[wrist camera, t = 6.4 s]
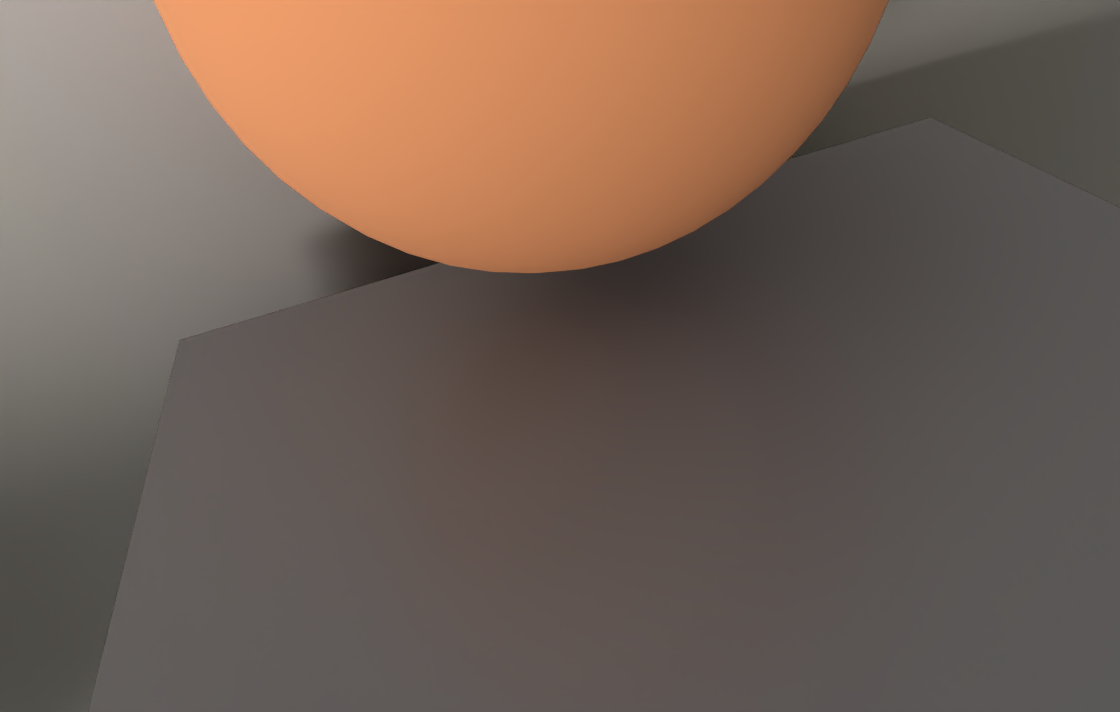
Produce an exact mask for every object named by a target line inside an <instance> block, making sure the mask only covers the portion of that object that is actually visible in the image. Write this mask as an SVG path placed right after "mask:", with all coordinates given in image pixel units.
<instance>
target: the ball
mask: <svg viewBox="0 0 1120 712" xmlns="http://www.w3.org/2000/svg"><path fill="white" fill-rule="evenodd" d="M888 1H889V0H154V2H155V5H156V7H157V9H158V11H159V13H160V15H161V17H162V19H163V21H164V23H165V25H166V27H167V29H168V32H169V34H170V36H171V38H172V40H173V42H174V44H175V46H176V48H177V50H178V52H179V54H180V56H181V58H182V59H183V61H184V63H185V64H186V66H187V67H188V69H189V70H190V72H191V74H192V75H193V77H194V78H195V80H196V81H197V83H198V85H199V86H200V88H201V89H202V91H203V92H204V94H205V96H206V97H207V99H208V100H209V102H210V103H211V105H212V106H213V107H214V108H215V109H216V111H217V112H218V113H219V114H220V116H221V117H222V118H223V119H224V120H225V122H226V123H227V124H228V125H229V127H230V128H231V129H232V130H233V131H234V133H235V134H236V135H237V136H238V138H239V139H240V140H241V141H242V142H243V144H244V145H245V146H246V147H247V148H248V149H249V150H250V151H252V152H253V153H254V154H255V155H256V156H257V157H258V158H259V159H260V160H261V161H262V162H263V163H264V164H265V165H266V166H267V167H268V168H269V169H270V170H271V171H272V172H273V173H274V174H275V175H277V176H278V177H279V178H280V179H281V180H282V181H283V182H285V183H286V184H287V185H289V186H290V187H291V188H293V189H294V190H295V191H297V192H298V193H299V194H301V195H302V196H303V197H305V198H306V199H307V200H309V201H310V202H311V203H313V204H314V205H315V206H317V207H318V208H319V209H321V210H323V211H325V212H326V213H328V214H330V215H332V216H333V217H335V218H337V219H338V220H340V221H342V222H344V223H345V224H347V225H349V226H351V227H352V228H354V229H356V230H357V231H359V232H361V233H363V234H365V235H366V236H368V237H370V238H373V239H375V240H378V241H380V242H382V243H385V244H387V245H389V246H392V247H394V248H396V249H399V250H401V251H403V252H406V253H408V254H411V255H415V256H418V257H422V258H425V259H429V260H432V261H436V262H439V263H443V264H446V265H450V266H456V267H463V268H469V269H476V270H482V271H488V272H510V273H544V272H555V271H567V270H578V269H585V268H589V267H594V266H599V265H604V264H608V263H613V262H618V261H622V260H625V259H628V258H631V257H634V256H636V255H639V254H642V253H645V252H648V251H651V250H654V249H657V248H660V247H662V246H664V245H666V244H668V243H670V242H672V241H674V240H677V239H679V238H681V237H683V236H685V235H687V234H689V233H691V232H694V231H695V230H697V229H699V228H700V227H702V226H703V225H705V224H707V223H708V222H710V221H712V220H713V219H715V218H717V217H718V216H720V215H721V214H723V213H725V212H726V211H728V210H729V209H731V208H732V207H733V206H735V205H736V204H737V203H738V202H740V201H741V200H742V199H744V198H745V197H746V196H748V195H749V194H750V193H751V192H753V191H754V190H755V189H757V188H758V187H759V186H760V185H762V184H763V183H764V182H765V181H766V180H767V179H768V178H769V177H770V176H771V175H772V174H773V173H774V172H775V171H776V170H777V169H778V168H779V167H781V166H782V165H783V164H784V163H785V162H786V161H787V160H788V159H789V158H790V157H791V156H792V155H793V154H794V153H795V152H796V151H797V150H798V148H799V147H800V146H801V145H802V144H803V143H804V141H805V140H806V139H807V138H808V137H809V136H810V134H811V133H812V132H813V131H814V130H815V128H816V127H817V126H818V125H819V124H820V123H821V121H822V120H823V119H824V118H825V116H826V115H827V113H828V112H829V110H830V109H831V107H832V106H833V104H834V103H835V102H836V100H837V99H838V97H839V96H840V94H841V93H842V91H843V90H844V89H845V87H846V86H847V84H848V83H849V81H850V79H851V77H852V75H853V74H854V72H855V70H856V68H857V66H858V65H859V63H860V61H861V59H862V57H863V55H864V54H865V52H866V50H867V48H868V46H869V45H870V43H871V40H872V38H873V36H874V33H875V31H876V29H877V26H878V24H879V22H880V19H881V17H882V15H883V12H884V10H885V8H886V5H887V3H888Z"/></svg>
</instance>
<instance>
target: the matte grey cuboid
mask: <svg viewBox="0 0 1120 712" xmlns="http://www.w3.org/2000/svg"><path fill="white" fill-rule="evenodd" d="M88 712H1120V207H1118V206H1116V205H1114V204H1112V203H1110V202H1107V201H1105V200H1103V199H1101V198H1099V197H1097V196H1095V195H1093V194H1091V193H1088V192H1086V191H1084V190H1082V189H1080V188H1078V187H1076V186H1074V185H1072V184H1070V183H1067V182H1065V181H1063V180H1061V179H1059V178H1057V177H1055V176H1053V175H1051V174H1049V173H1046V172H1044V171H1042V170H1040V169H1038V168H1036V167H1034V166H1032V165H1030V164H1028V163H1025V162H1023V161H1021V160H1019V159H1017V158H1015V157H1013V156H1011V155H1009V154H1007V153H1004V152H1002V151H1000V150H998V149H996V148H994V147H992V146H990V145H988V144H985V143H983V142H981V141H979V140H977V139H975V138H973V137H971V136H969V135H967V134H964V133H962V132H960V131H958V130H956V129H954V128H952V127H950V126H948V125H946V124H943V123H941V122H939V121H937V120H935V119H933V118H931V117H930V118H927V119H923V120H920V121H917V122H913V123H910V124H906V125H903V126H900V127H896V128H893V129H890V130H886V131H883V132H879V133H876V134H873V135H869V136H866V137H863V138H859V139H856V140H853V141H849V142H846V143H842V144H839V145H836V146H832V147H829V148H826V149H822V150H819V151H815V152H812V153H809V154H805V155H802V156H799V157H795V158H792V159H788V160H787V161H786V162H785V163H784V164H783V165H782V166H781V167H779V168H778V169H777V170H776V171H775V172H774V173H773V174H772V175H771V176H770V177H769V178H768V179H767V180H766V181H765V182H764V183H763V184H762V185H760V186H759V187H758V188H757V189H755V190H754V191H753V192H751V193H750V194H749V195H748V196H746V197H745V198H744V199H742V200H741V201H740V202H738V203H737V204H736V205H735V206H733V207H732V208H731V209H729V210H728V211H726V212H725V213H723V214H721V215H720V216H718V217H717V218H715V219H713V220H712V221H710V222H708V223H707V224H705V225H703V226H702V227H700V228H699V229H697V230H695V231H694V232H691V233H689V234H687V235H685V236H683V237H681V238H679V239H677V240H674V241H672V242H670V243H668V244H666V245H664V246H662V247H660V248H657V249H654V250H651V251H648V252H645V253H642V254H639V255H636V256H634V257H631V258H628V259H625V260H622V261H618V262H613V263H608V264H604V265H599V266H594V267H589V268H585V269H578V270H567V271H555V272H544V273H510V272H488V271H482V270H476V269H469V268H463V267H456V266H450V265H446V264H443V263H438V264H435V265H431V266H428V267H424V268H421V269H418V270H414V271H411V272H408V273H404V274H401V275H397V276H394V277H391V278H387V279H384V280H381V281H377V282H374V283H370V284H367V285H364V286H360V287H357V288H354V289H350V290H347V291H344V292H340V293H337V294H333V295H330V296H327V297H323V298H320V299H317V300H313V301H310V302H306V303H303V304H300V305H296V306H293V307H290V308H286V309H283V310H279V311H276V312H273V313H269V314H266V315H263V316H259V317H256V318H253V319H249V320H246V321H242V322H239V323H236V324H232V325H229V326H226V327H222V328H219V329H215V330H212V331H209V332H205V333H202V334H199V335H195V336H192V337H188V338H185V339H182V340H179V344H178V349H177V353H176V357H175V361H174V365H173V369H172V373H171V377H170V381H169V385H168V389H167V393H166V397H165V401H164V405H163V410H162V414H161V418H160V422H159V426H158V430H157V434H156V438H155V442H154V446H153V450H152V454H151V458H150V462H149V466H148V471H147V475H146V479H145V483H144V487H143V491H142V495H141V499H140V503H139V507H138V511H137V515H136V519H135V523H134V528H133V532H132V536H131V540H130V544H129V548H128V552H127V556H126V560H125V564H124V568H123V572H122V576H121V580H120V584H119V589H118V593H117V597H116V601H115V605H114V609H113V613H112V617H111V621H110V625H109V629H108V633H107V637H106V641H105V645H104V650H103V654H102V658H101V662H100V666H99V670H98V674H97V678H96V682H95V686H94V690H93V694H92V698H91V702H90V707H89V711H88Z"/></svg>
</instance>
